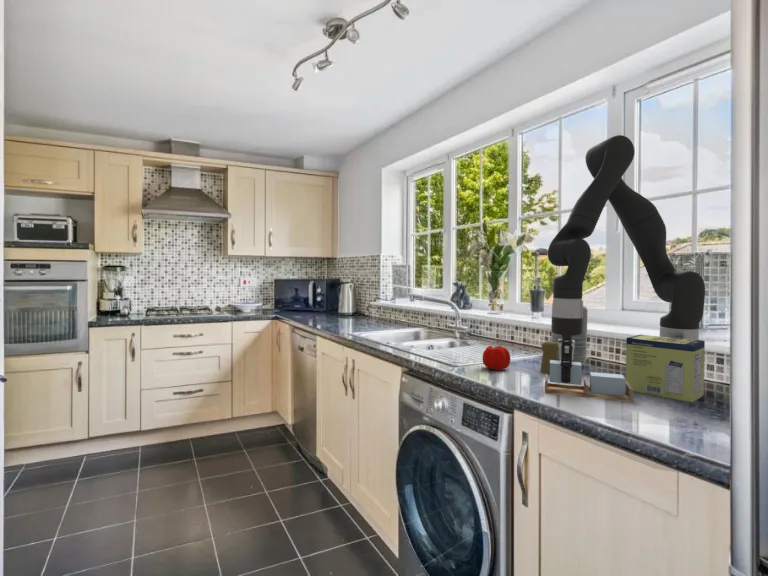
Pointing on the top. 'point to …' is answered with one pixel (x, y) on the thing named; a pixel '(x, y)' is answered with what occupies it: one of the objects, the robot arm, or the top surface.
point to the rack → (585, 391)
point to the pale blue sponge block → (607, 384)
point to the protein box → (666, 366)
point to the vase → (577, 341)
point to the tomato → (496, 358)
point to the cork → (548, 355)
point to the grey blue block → (575, 372)
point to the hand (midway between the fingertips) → (565, 380)
